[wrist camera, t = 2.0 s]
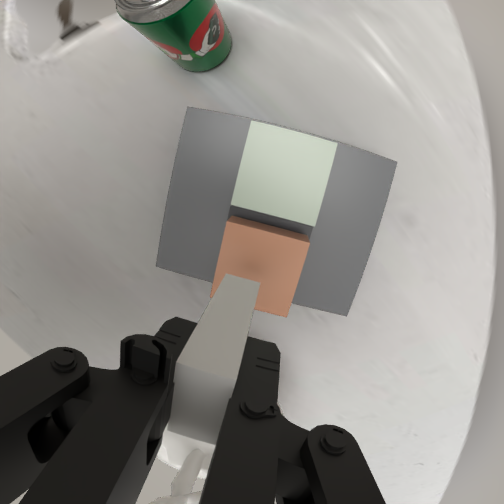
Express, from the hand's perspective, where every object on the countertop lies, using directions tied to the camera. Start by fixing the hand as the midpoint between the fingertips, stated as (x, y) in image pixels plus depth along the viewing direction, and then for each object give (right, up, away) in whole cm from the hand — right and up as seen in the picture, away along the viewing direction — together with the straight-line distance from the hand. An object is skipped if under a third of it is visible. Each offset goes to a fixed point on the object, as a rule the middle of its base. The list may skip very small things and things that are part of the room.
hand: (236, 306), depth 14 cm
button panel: (+2, +6, +12) cm, 14 cm away
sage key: (+3, +7, +6) cm, 10 cm away
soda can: (-3, +20, +9) cm, 22 cm away
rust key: (+1, +2, +7) cm, 8 cm away
